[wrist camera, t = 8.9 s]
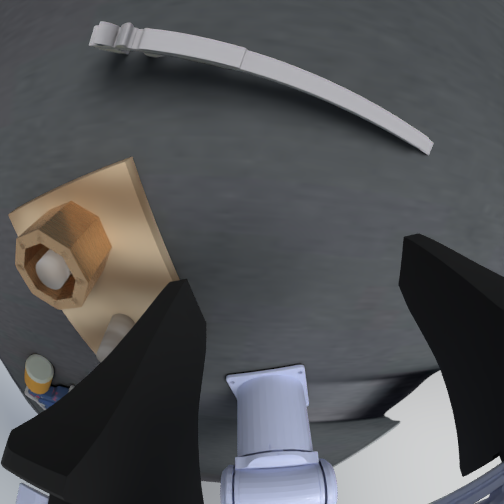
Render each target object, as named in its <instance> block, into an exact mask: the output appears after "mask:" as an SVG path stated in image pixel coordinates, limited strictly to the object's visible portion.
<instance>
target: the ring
mask: <svg viewBox="0 0 504 504" xmlns="http://www.w3.org/2000/svg"><path fill="white" fill-rule="evenodd" d="M111 248H112V245H111V243H110V241H109V239H108V236H107V234H106V232H105V230H104V228H103V225H102V223H101V221H100V218H99V217H98V216H97V215H95V214H94V213H92V212H90V211H88V210H87V209H85V208H83V207H81V206H80V205H78V204H76V203H74V202H73V201H69V202H67V203H64V204H62V205H59V206H57V207H54V208H52V209H50V210H48V211H47V212H46V213H45V214H43V215H42V216H41V217H40V218H39V219H38V220H37V221H35V222H34V223H33V224H32V225H31V226H30V227H29V228H28V229H26V230H25V231H24V232H23V233H22V234H21V235H20V236H19V237H18V238H17V241H16V260H15V266H16V267H17V269H18V271H19V273H20V274H21V276H22V278H23V279H24V281H25V283H26V284H27V286H28V287H29V289H30V291H31V292H32V294H34V295H36V296H37V297H39V298H40V299H42V300H43V301H45V302H47V303H48V304H50V305H51V306H53V307H55V308H56V309H58V310H62V309H70V308H78V307H82V306H83V304H84V302H85V301H86V299H87V297H88V295H89V294H90V292H91V290H92V289H93V287H94V285H95V283H96V282H97V280H98V279H99V277H100V275H101V274H102V272H103V270H104V268H105V265H106V262H107V259H108V257H109V254H110V251H111ZM49 249H51V250H52V251H54V252H56V253H57V254H59V255H60V256H62V257H63V259H64V260H65V262H66V264H67V266H68V268H69V270H70V271H71V274H70V276H69V277H68V279H67V280H66V282H65V283H64V284H63V286H62V287H61V288H60V289H57V290H55V289H51V288H49V287H47V286H46V285H45V284H43V283H42V281H41V280H40V279H39V277H38V275H37V272H36V264H37V262H38V261H39V260H40V259H41V258H42V257H43V255H44V254H45V253H46V252H47V251H48V250H49Z"/></svg>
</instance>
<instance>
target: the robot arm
mask: <svg viewBox="0 0 504 504" xmlns="http://www.w3.org/2000/svg"><path fill="white" fill-rule="evenodd" d="M399 287H400V289H401V292H402V294H403V297H404V299H405V301H406V304H407V306H408V308H409V310H410V312H411V314H412V316H413V317H414V319H415V321H416V323H417V325H418V326H419V328H420V330H421V332H422V334H423V335H424V337H425V339H426V341H427V343H428V345H429V347H430V348H431V350H432V352H433V354H434V356H435V358H436V360H437V363H438V365H439V367H440V370H441V372H442V376H443V379H444V381H445V384H446V388H447V390H448V394H449V398H450V402H451V406H452V409H453V414H454V419H455V425H456V430H457V437H458V446H459V459H460V470H461V473H462V476H463V477H464V476H466V475H468V474H470V473H472V472H473V471H475V470H477V469H479V468H480V467H482V466H484V465H486V464H487V463H489V462H490V461H492V460H494V459H495V458H497V457H498V456H500V458H501V461H502V463H500V464H499V465H497V466H496V467H495V468H493V469H491V470H490V471H488V472H487V473H485V474H484V475H482V476H481V477H479V478H477V479H476V480H474V481H472V482H471V483H469V484H467V485H465V486H463V487H462V488H460V489H458V490H456V491H454V492H452V493H450V494H448V495H447V496H444V497H442V498H440V499H438V500H436V501H434V502H431V503H429V504H474V503H475V502H477V501H479V500H480V499H482V498H484V497H485V496H487V495H488V494H490V496H489V498H487V499H484V500H482V501H480V502H478V503H475V504H504V277H503V276H501V275H499V274H497V273H495V272H493V271H491V270H489V269H487V268H485V267H483V266H481V265H479V264H477V263H476V262H474V261H472V260H470V259H468V258H466V257H465V256H463V255H461V254H459V253H457V252H455V251H454V250H452V249H450V248H448V247H446V246H444V245H442V244H440V243H439V242H437V241H435V240H433V239H430V238H428V237H426V236H424V235H421V234H414V235H410V236H405V237H404V241H403V252H402V261H401V270H400V278H399ZM205 353H206V321H205V319H204V317H203V315H202V313H201V310H200V308H199V306H198V304H197V301H196V299H195V297H194V295H193V292H192V290H191V288H190V285H189V283H188V281H187V279H183V280H177V281H172V282H169V283H168V284H167V285H166V286H165V288H164V289H163V290H162V291H161V292H160V294H159V295H158V296H157V297H156V298H155V300H154V301H153V302H152V303H151V305H150V306H149V307H148V309H147V310H146V311H145V312H144V313H143V315H142V316H141V317H140V318H139V320H138V321H137V322H136V324H135V325H134V326H133V327H132V328H131V329H130V331H129V332H128V333H127V334H126V335H125V336H124V338H123V339H122V340H121V341H120V342H119V344H118V345H117V346H116V347H115V348H114V349H113V350H112V352H111V353H110V354H109V355H108V356H107V357H106V358H105V359H104V360H103V361H102V362H101V363H100V364H99V365H98V366H97V367H96V368H95V369H94V370H93V371H92V372H91V373H90V374H89V375H88V376H87V377H86V378H84V379H83V380H82V381H81V382H80V383H79V384H78V385H76V386H75V387H74V388H73V389H72V390H71V391H70V392H68V393H67V394H66V395H65V396H64V397H62V398H61V399H60V400H58V401H57V402H56V403H54V404H53V405H52V406H50V407H49V408H47V409H46V410H44V411H43V412H42V413H40V414H38V415H37V416H35V417H34V418H32V419H30V420H29V421H27V422H25V423H23V424H22V425H20V426H18V427H17V428H15V429H13V430H12V431H11V433H10V435H9V438H8V441H7V444H6V447H5V450H4V454H3V457H2V461H1V464H2V466H3V467H4V468H5V469H7V470H8V471H10V472H11V473H13V474H15V475H16V476H18V477H20V478H21V479H23V480H25V481H26V482H28V483H30V484H32V485H34V486H35V487H37V488H39V489H41V490H43V491H45V492H47V493H49V494H50V496H47V495H45V494H43V493H41V492H39V491H38V490H35V489H34V488H31V487H29V486H27V485H25V484H23V483H20V485H19V490H18V495H17V500H16V504H204V502H203V495H202V488H201V478H200V468H199V450H198V409H199V400H200V392H201V384H202V376H203V369H204V361H205ZM226 381H227V382H228V384H229V386H230V388H231V390H232V391H233V393H234V395H235V397H236V398H237V457H235V465H228V466H227V468H225V469H224V470H223V472H222V476H221V488H220V489H221V490H220V495H221V496H220V497H221V504H336V503H337V494H338V492H337V481H336V476H335V472H334V469H333V467H332V465H331V464H330V463H329V462H327V461H326V460H325V459H324V458H321V459H319V458H318V452H317V451H315V452H313V448H312V441H311V434H310V427H309V421H308V414H307V407H306V406H308V405H309V400H308V391H307V383H306V376H305V368H304V366H303V365H294V366H289V367H283V368H277V369H270V370H264V371H256V372H249V373H241V374H232V375H228V376H226Z"/></svg>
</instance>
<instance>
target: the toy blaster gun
mask: <svg viewBox="0 0 504 504" xmlns="http://www.w3.org/2000/svg"><path fill="white" fill-rule="evenodd" d="M53 375H54V368H53V365H52V364H51V363H50V362H49V361H48V360H47V359H46V358H44V357H43V356H41V355H38V354H33V355H31V356H29V358H28V359H27V360H26V364H25V383H26V385H27V387H26V389H25V394H26V396H28V397H29V398H31V399H33V400H34V401H36V402H37V403H38V404H39V405H40V406H41V407H42V408H43V409H44V410H46V409H47V408H49V407H50V406H52V405H53V404H54V403H56V402H57V401H58V400H60V399H61V398H62V397H64V396H65V395H66V394H67V393H68V392H70V391H71V390H72V389H73V388H74V387H75V386H74V385H71V386H70V388H66V387H62V386H58V387H53V386H50V385H51V382H52V378H53ZM28 389H29V391H28ZM28 392H29V394H28ZM30 394H31V395H32V396H31V395H30ZM33 396H34V397H35V398H34V397H33Z"/></svg>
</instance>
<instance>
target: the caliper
mask: <svg viewBox="0 0 504 504" xmlns="http://www.w3.org/2000/svg"><path fill="white" fill-rule="evenodd" d="M89 46H91V47H94V48H97V49H101V50H106V51H110V52H115V53H120V54H129V51H138V52H143V53H144V54H145V55H146V56H149V57H163V56H171V57H177V58H182V59H186V60H191V61H195V62H199V63H204V64H209V65H214V66H217V67H221V68H225V69H229V70H237V71H241V72H244V73H248V74H251V75H254V76H258V77H261V78H264V79H267V80H270V81H273V82H276V83H279V84H282V85H285V86H288V87H291V88H293V89H296V90H299V91H301V92H304V93H306V94H309V95H311V96H314V97H316V98H319V99H321V100H324V101H326V102H328V103H331V104H333V105H335V106H337V107H340V108H342V109H344V110H346V111H348V112H350V113H352V114H354V115H357V116H359V117H361V118H363V119H365V120H367V121H369V122H370V123H372V124H374V125H376V126H378V127H380V128H382V129H384V130H386V131H387V132H389V133H391V134H393V135H394V136H396V137H398V138H400V139H402V140H403V141H405V142H407V143H409V144H410V145H412V146H414V147H416V148H417V149H419V150H421V151H422V152H424V153H425V154H427V155H429V153H430V151H431V148H432V146H433V144H434V143H433V142H432V141H431V140H429V138H428V137H427V136H425V135H424V134H423V133H421V132H420V131H418V130H417V129H415V128H414V127H412V126H411V125H409V124H408V123H406V122H404V121H403V120H401V119H400V118H398V117H396V116H395V115H393V114H391V113H390V112H388V111H386V110H385V109H383V108H381V107H380V106H378V105H376V104H374V103H372V102H371V101H369V100H367V99H365V98H363V97H361V96H359V95H357V94H356V93H354V92H352V91H350V90H348V89H346V88H344V87H341V86H339V85H337V84H335V83H333V82H331V81H329V80H326V79H324V78H322V77H320V76H317V75H315V74H313V73H310V72H308V71H305V70H303V69H300V68H298V67H295V66H293V65H290V64H287V63H285V62H282V61H279V60H276V59H273V58H271V57H268V56H265V55H261V54H258V53H255V52H252V51H249V50H247V49H246V48H243V47H240V46H236V45H233V44H229V43H225V42H221V41H217V40H213V39H208V38H204V37H199V36H194V35H189V34H184V33H178V32H172V31H165V30H158V29H149V28H144V29H138V28H134V27H133V25H132V23H125V24H123V25H122V26H121V27H119V26H118V25H115V24H112V23H108V22H101V21H100V24H99V26H95V27H94V30H93V33H92V36H91V40H90V43H89Z"/></svg>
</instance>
